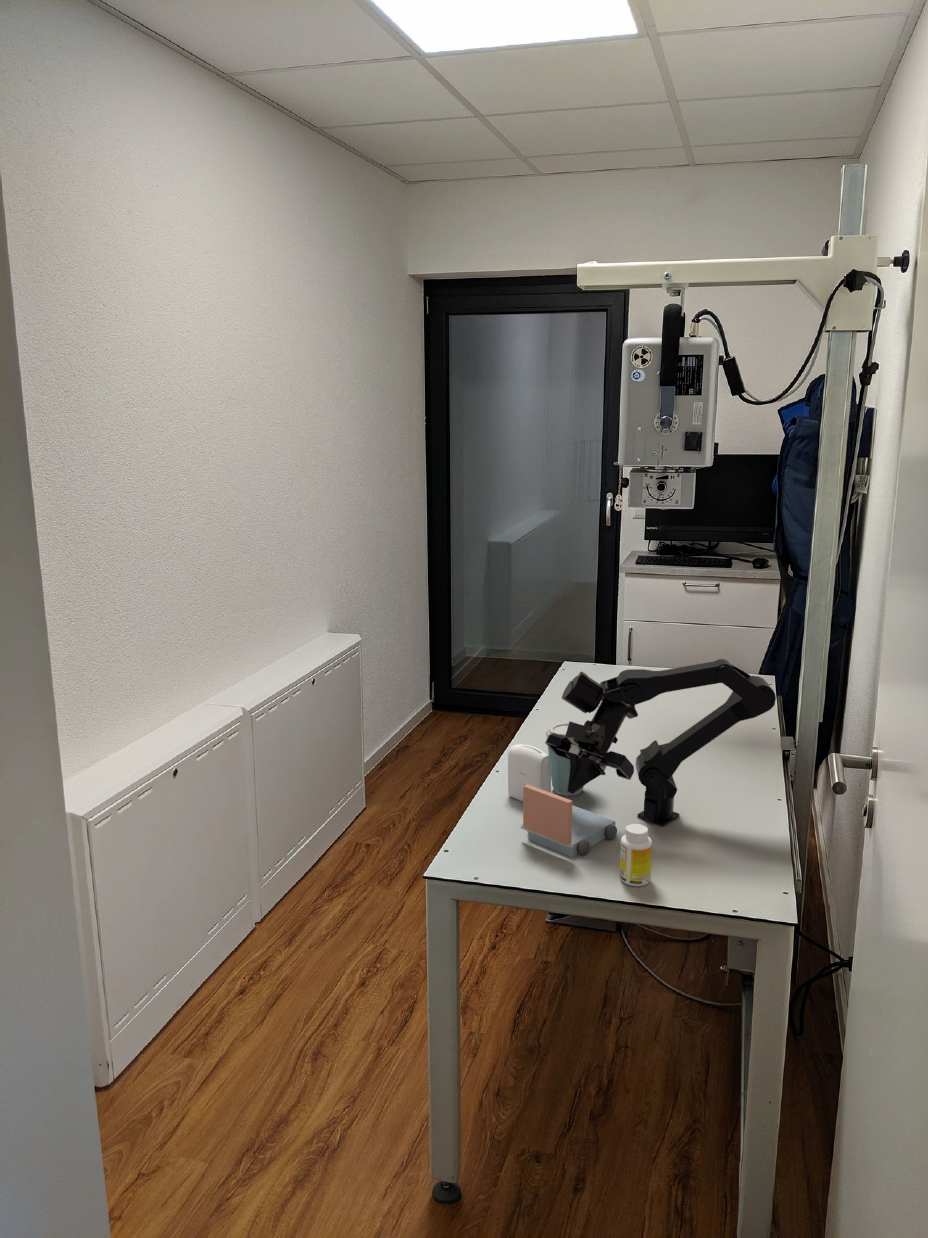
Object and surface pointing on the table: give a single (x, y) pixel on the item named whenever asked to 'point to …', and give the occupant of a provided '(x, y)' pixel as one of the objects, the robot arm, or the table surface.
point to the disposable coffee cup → (560, 763)
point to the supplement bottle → (636, 856)
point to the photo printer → (527, 770)
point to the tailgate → (547, 815)
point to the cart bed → (582, 832)
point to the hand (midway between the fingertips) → (569, 792)
